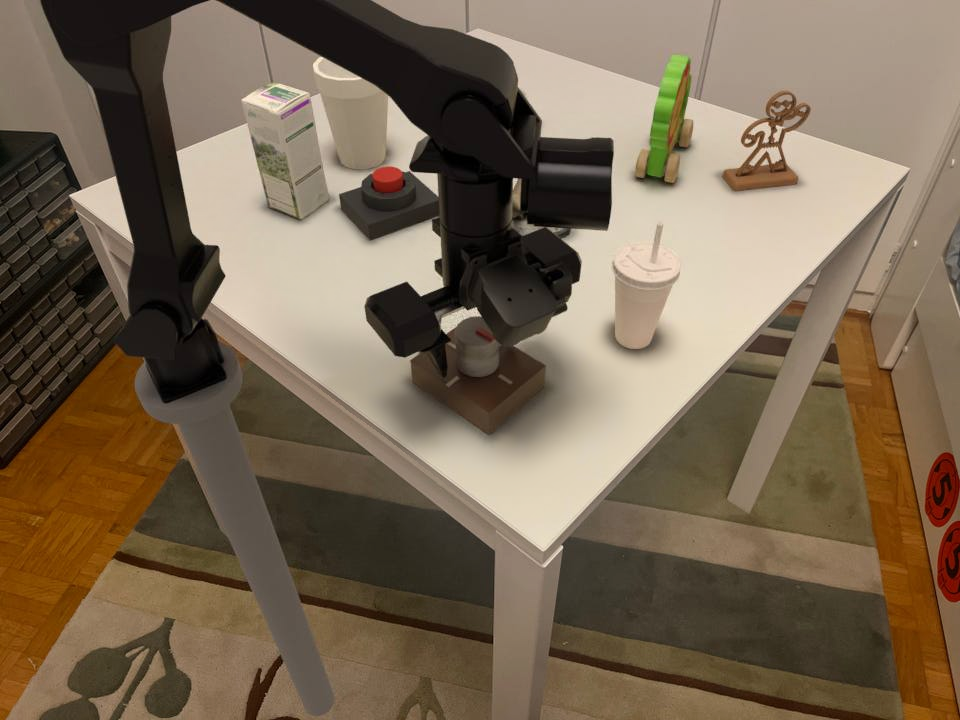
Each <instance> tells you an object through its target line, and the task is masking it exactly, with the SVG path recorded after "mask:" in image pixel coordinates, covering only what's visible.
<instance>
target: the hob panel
mask: <svg viewBox="0 0 960 720" xmlns="http://www.w3.org/2000/svg"><path fill="white" fill-rule="evenodd" d="M456 327H457V326H455V327H453V329H451V330H449V332H447V333H446V334H447V336H448V337H449V338H450V339H451V342H449V343H446V344H445V348H446V357H447V366H448V368H447V376H446V377H444V378H442V377H441V375H440V374H439V373H438V372H437V370H436V368H435V367H434V365H433V363H432V362H431V360H430V359H429V357H428V355H427V354H426V353H419V352H418V354H417V355H415V356H413V357H412V358H411V359H410V360H409V361H410V371H411V382H412V383H413V384H415V385H416V386H418V387H419V388H421V389H422V390H423V391H425V392H426V393H428V394H429V395H431V396H432V397H434V398H435V399H436V400H438V401H440V402H441V403H442V404H444V405H445V406H446V407H448V408H449V409H451V410H452V411H454V412H455V413H457V414H458V415H459V416H461V417H463V418H464V419H466V421H468V422H470V423H471V424H473V425H474V426H476V427H477V428H478V429H480V430H481V431H483V432H484V433H486V434H487V435H491V434H492V433H494V431H496V430H497V429H498V428H499V427H501V425H503V424H504V423H505V422H506V421H507V420H508V419H510V418H511V417H512V416H513V415H514V414H516V413H517V412H518V411H519V410H520V409H522V407H524V405H526V404H527V403H528V402H529V401H530V400H532V399H533V398H534V397H535V396H536V395H537V394H539V392H541V391H542V390H543V389H544V388H545V384H546V371H547V365H546V364H545V363H543V362H541V361H540V360H537V359H536V358H535V357H533V356H531V355H530V354H528V353H526V352H524V351H523V350H521V349H519V348H518V347H516V346H515V345H514V346H511V347H505V346H502V345H500V344H499V366H498V368H497V369H496V370H495V371H494V372H493V373H492V374H490V375H488V376H484V377H471V376H468V375H465V374H464V373H462V372H461V371H460V370H459V368H458V367H457V363H456V338H455V330H456Z"/></svg>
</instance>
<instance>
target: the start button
mask: <svg viewBox="0 0 960 720" xmlns="http://www.w3.org/2000/svg"><path fill="white" fill-rule="evenodd" d="M402 171H403V170H401V169H400V168H398V167H396V166H392V165H390V166H380V167H379V168H376V169H375V170H373V172H372V173H373V174H372V173H371V174H372V178H373V186H374V189H375V191H376V192H380V193H394V192H397V191H400V190H401V189H402V188H403V176H402Z"/></svg>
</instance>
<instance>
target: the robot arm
mask: <svg viewBox="0 0 960 720" xmlns="http://www.w3.org/2000/svg"><path fill="white" fill-rule="evenodd" d="M215 1H216V2H218V3H221V4H222V5H225V6H226V7H228V8H230V9H232V10H233V11H235V12H237V13H239V14H241V15H243V16H245V17H247V18H249V19H250V20H252V21H254V22H255V23H258V24H260V25H261V26H264V27H265V28H267V29H268V30H270V31H273V32H274V33H277V34H278V35H280V36H282V37H284V38H286V39H287V40H290V41H292V43H295V44H297V45H299V46H301V47H302V48H304V49H306V50H308V51H310V52H311V53H314V54H316V55H317V56H319V57H323V58H325V59H327V60H329V61H331V62H332V63H334V64H336V65H338V66H340V67H342V68H344V69H345V70H347V71H349V72H351V73H353V74H355V75H357V76H358V77H360V78H362V79H364V80H366V81H368V82H370V83H372V84H373V85H375V86H376V87H378V88H379V89H380V90H382V91H383V92H384V93H386V94H387V95H388V98H390V99H391V100H392V102H394V104H395V105H396V106H397V108H398V109H399V110H400V112H402V114H403V115H404V116H405V118H407V120H408V121H409V122H410V123H411V124H412V125H414V126H415V127H416V128H418V129H419V130H420V131H422V132H423V133H424V134H425V135H426V136H425V137H423V138H422V139H421V140H418V142H417V143H416V145H415V148H414V150H413V153H412V157H411V159H410V162H409V165H408V169H409V171H410V172H411V173H419V174H420V173H421V174H436V175H437V177H436V178H437V193H438V195H437V196H438V197H439V216H437V217H435V218H432V219H431V227H432V228H431V229H432V231H433V232H434V233H435V235H437V236H438V237H439V238H440V253H441V258H437V259H435V260H434V261H433V262H434V271H435V272H436V273H437V274H438V275H439V276H440V277H441V278H442V286H443V287H440V288H437V289H435V290H432V291H430V292H428V293H426V294H423V295H420V294H419V293H418V291H416V290H415V288H414V287H413V286H412V285H411V284H410V283H409V282H408V281H404V282H402V283H399V284H396V285H394V286H392V287H389V288H386V289H384V290H381V291H378V292H376V293H373V294H371V295H370V296H368V297H367V298H366V300H365V303H364V306H363V307H364V314H365V320H366V322H367V324H368V325H369V326H370V327H371V329H372V330H373V331H374V332H375V333H376V335H377V336H378V337H379V339H381V341H382V342H383V344H385V346H386V347H387V348H388V349H389V350H390V352H391V353H392V354H393V356H394V357H398V358H408V357H410V356H412V355H414V354H417V353H418V354H419V353H426V354H427V355H428V357H429V359H430V360H431V362H432V363H433V365H434V367H435V368H436V370H437V372H438V373H439V374H440V375H441V377H442V378H444V377H446V376H447V368H448V366H447V357H446V348H445V344H446V343H449V342H451V339H450V338H449V337H448V336H447V333H446V332H445V331H444V330H443V329H442V319H443V318H445V317H448V316H450V315H452V314H455V313H457V312H459V311H461V310H464V309H465V310H466V311H470V310H472V309H475V308H476V310H477V312H478V314H479V315H480V317H482V318H483V319H484V321H485V323H486V324H487V326H488V327H489V329H490V330H491V332H492V333H493V336H494V338H495V340H496V341H497V342H498V343H499V344H500V345H502V346H505V347H511V346H514V347H515V346H517V344H520V342H523V341H524V340H527V339H529V338H532V337H533V336H536V335H540V334H542V333H544V332H545V331H546V330H547V328H548V326H549V324H550V322H551V320H552V318H554V317H557V316H559V315H561V314H563V313H565V312H567V311H568V309H569V308H568V304H567V303H568V302H569V300H570V297H571V296H572V294H573V285H574V284H577V283H579V282H580V280H581V273H582V265H583V264H582V263H583V261H582V258H581V256H580V254H579V252H578V251H577V250H576V249H575V248H573V247H572V246H571V245H569V244H568V243H567V242H565V241H564V240H563V239H562V237H561V238H559V237H558V236H557V235H556V234H554V233H553V232H552V231H551V230H549V229H548V228H546V227H552V228H568V229H570V230H585V231H601V232H607V231H608V230H609V226H610V221H611V215H612V207H613V187H612V186H613V184H612V183H613V182H612V175H613V163H614V155H615V151H614V150H615V147H614V140H613V139H612V137H597V136H596V137H589V138H570V137H569V138H568V137H551V136H550V137H547V136H546V137H545V136H542V126H543V120H542V118H541V117H540V115H539V113H538V112H537V111H536V110H535V108H534V107H533V106H532V104H531V103H530V101H529V100H528V98H527V99H526V97H525V96H524V95H523V93H522V92H521V90H520V89H519V88H518V87H519V76H518V73H517V69H516V67H515V63H514V61H513V59H512V58H511V57H510V55H509V53H507V52H506V51H505V50H504V49H502V48H501V47H500V46H498V45H496V44H493V43H492V42H489V41H486V40H483V39H481V38H478V37H476V36H472V35H469V34H467V33H464V32H461V31H459V30H457V29H453V28H446V27H440V26H439V27H438V26H432V25H431V26H429V25H423V24H419V23H417V22H414V21H412V20H409V19H406V18H403V17H402V16H400V15H398V14H396V13H394V12H393V11H391V10H389V9H388V8H386V7H384V6H382V5H381V4H379V3H378V2H375V1H374V0H215ZM206 2H210V0H39V4H40V7H41V10H42V13H43V15H44V17H45V20H46V21H47V24H48V26H49V28H50V31H51V33H52V35H53V37H54V40H55V42H56V43H57V47H58V48H59V51H60V54H61V55H62V57H63V59H64V60H65V61H66V62H67V63H68V64H69V65H70V66H71V68H73V70H74V71H76V72H77V74H78V75H79V76H80V77H81V78H82V79H83V80H84V81H85V82H86V83H87V84H88V85H89V86H90V87H91V89H92V92H93V95H94V97H95V98H94V99H95V102H96V106H97V110H98V114H99V118H100V121H101V122H100V123H101V126H102V129H103V134H104V138H105V142H106V144H107V149H108V153H109V156H110V160H111V165H112V167H113V168H112V169H113V171H114V175H115V180H116V183H117V187H118V191H119V195H120V199H121V203H122V206H123V211H124V214H125V217H126V221H127V222H126V223H127V226H128V229H129V234H130V237H131V241H132V245H133V253H132V257H131V262H130V268H129V274H128V279H127V285H126V290H127V309H128V314H129V316H128V317H127V318H126V320H125V322H124V323H123V325H122V326H121V328H120V329H119V330H118V332H117V333H116V335H115V336H114V338H113V340H112V341H113V343H114V344H115V345H116V346H117V347H118V348H119V349H120V350H121V352H122V353H124V355H125V356H127V357H131V358H143V360H144V362H146V367H147V370H148V372H149V374H150V376H151V378H152V380H153V383H154V385H155V387H156V389H157V391H158V393H159V396H160V398H161V400H162V402H163V403H170V402H173V401H175V400H177V399H180V398H182V397H185V396H187V395H190V394H192V393H195V392H197V391H200V390H202V389H204V388H207V387H209V386H212V385H214V384H217V383H219V382H222V381H224V380H226V379H227V375H226V372H225V370H224V369H223V367H222V365H221V364H222V363H224V361H225V360H224V357H223V354H222V351H221V348H220V345H219V343H218V341H219V339H218V336H217V335H216V332H215V330H214V329H213V326H212V325H211V323H210V322H209V320H208V319H207V318H203V316H204V315H205V313H206V311H207V310H208V307H209V306H210V305H211V303H212V301H213V300H214V298H215V296H216V294H217V292H218V291H219V289H220V287H221V285H222V283H223V282H224V280H225V279H226V276H227V275H226V273H225V272H224V270H223V269H222V266H221V262H220V254H221V248H220V246H219V245H217V244H204V242H203V241H202V240H200V239H199V238H198V237H197V236H196V235H195V234H194V232H193V231H192V226H191V222H190V216H189V211H188V206H187V201H186V200H187V199H186V194H185V190H184V184H183V178H182V174H181V167H180V163H179V157H178V153H177V148H176V142H175V137H174V131H173V126H172V121H171V116H170V110H169V104H168V100H167V95H166V90H165V83H164V70H165V64H166V61H167V55H168V49H169V44H170V40H171V35H172V16H174V15H176V14H179V13H181V12H183V11H185V10H187V9H190V8H192V7H194V6H198V5H200V4H203V3H206ZM514 179H517V180H518V179H521V196H520V212H527V224H533V225H534V226H536V227H544V228H541V229H539V230H536V231H534V232H531V233H529V234H526V235H524V236H521V234H519V233H518V232H517V231H516V230H515V229H513V228H512V204H513V189H514ZM221 376H222V377H221ZM166 398H167V399H166Z"/></svg>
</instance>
